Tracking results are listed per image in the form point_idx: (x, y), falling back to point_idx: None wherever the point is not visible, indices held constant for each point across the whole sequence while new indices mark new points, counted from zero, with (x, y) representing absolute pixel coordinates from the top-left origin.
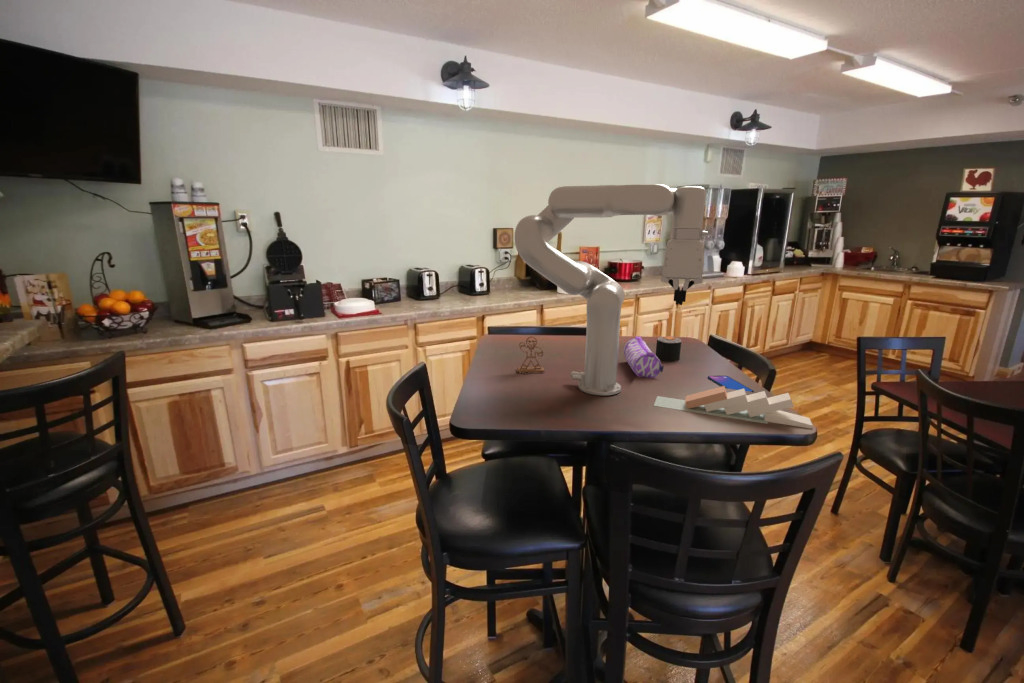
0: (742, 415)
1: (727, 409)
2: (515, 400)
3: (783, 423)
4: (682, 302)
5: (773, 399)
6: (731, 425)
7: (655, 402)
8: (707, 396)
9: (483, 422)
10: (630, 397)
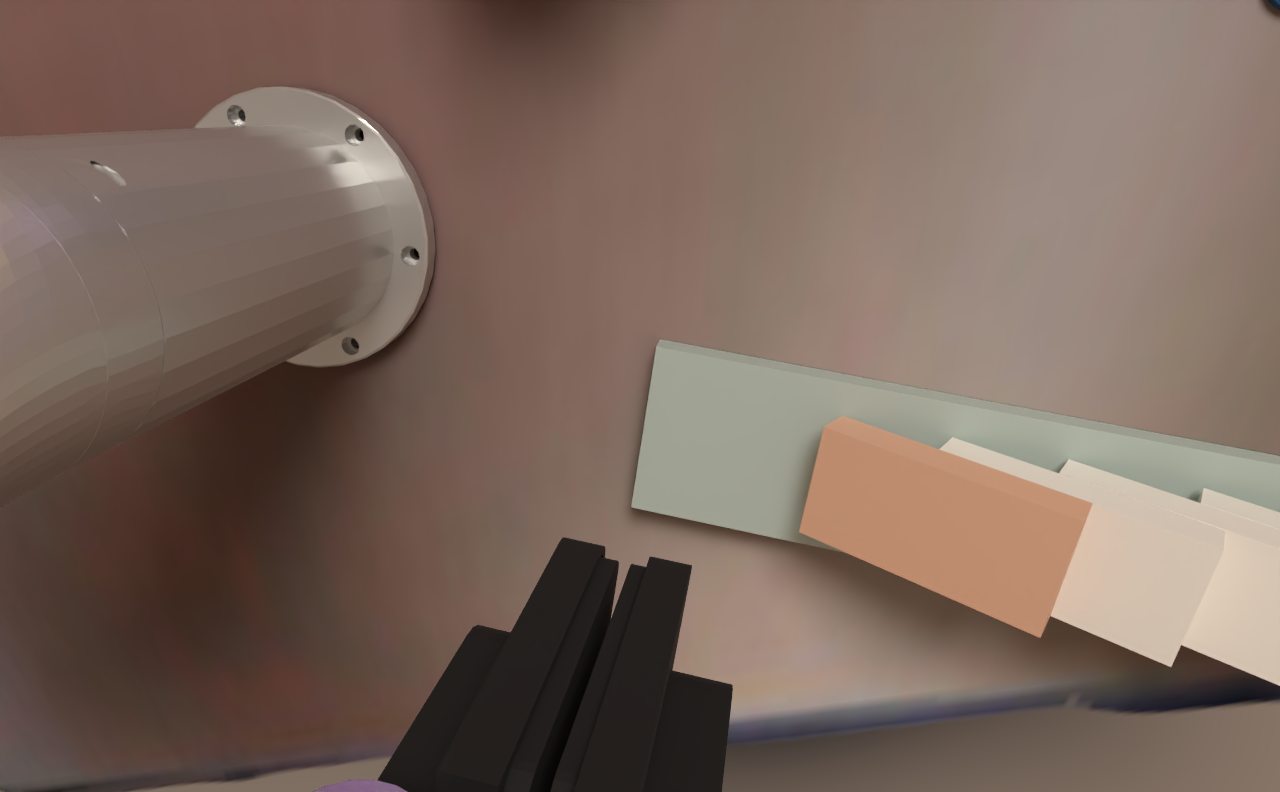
0: None
1: None
2: (4, 516)
3: None
4: (677, 638)
5: None
6: None
7: (641, 458)
8: (929, 588)
9: (22, 742)
10: (505, 333)
